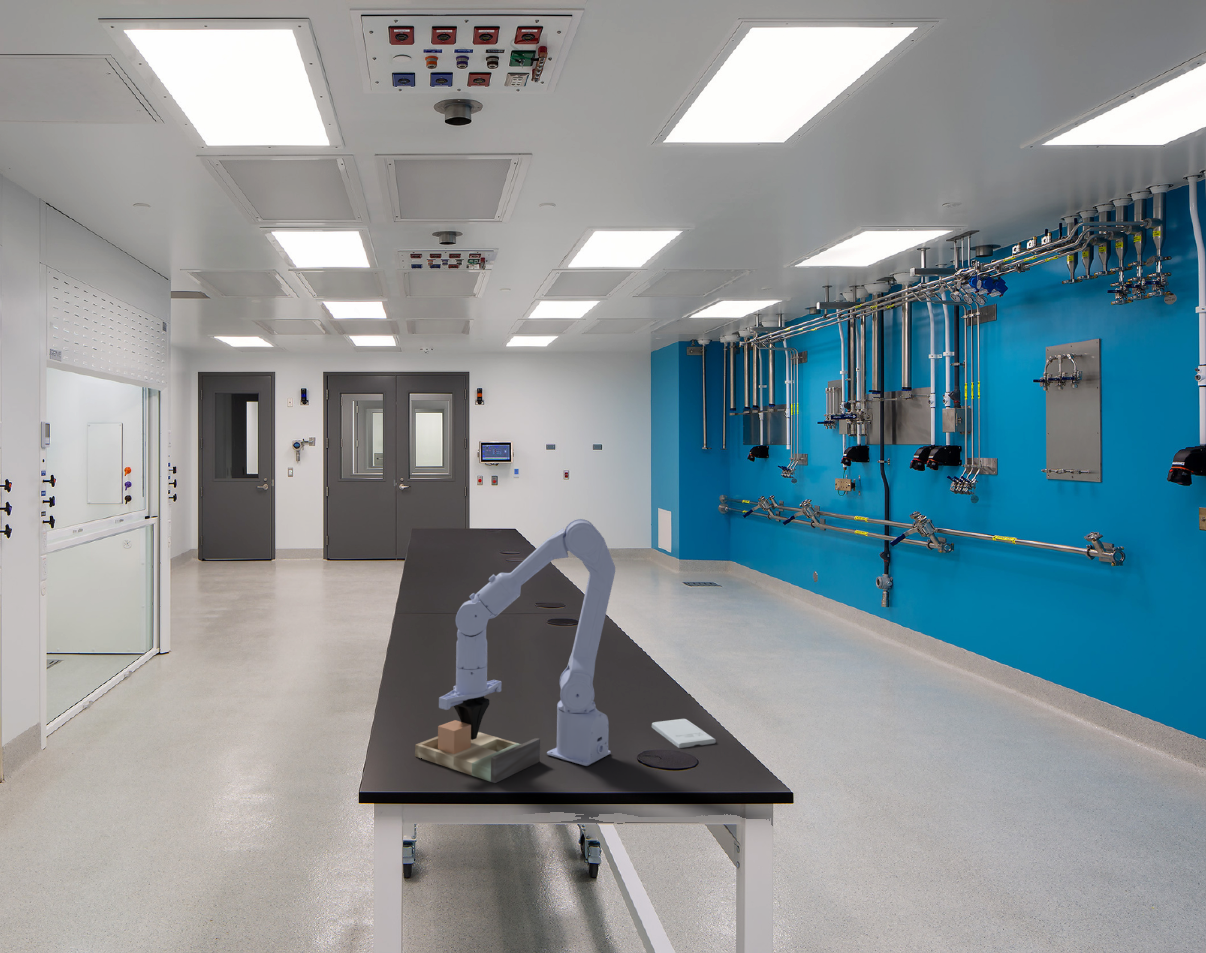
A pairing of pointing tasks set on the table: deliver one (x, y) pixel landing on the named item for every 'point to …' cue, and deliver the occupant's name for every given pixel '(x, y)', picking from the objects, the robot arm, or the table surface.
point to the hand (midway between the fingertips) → (470, 738)
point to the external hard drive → (682, 733)
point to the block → (454, 736)
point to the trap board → (484, 756)
